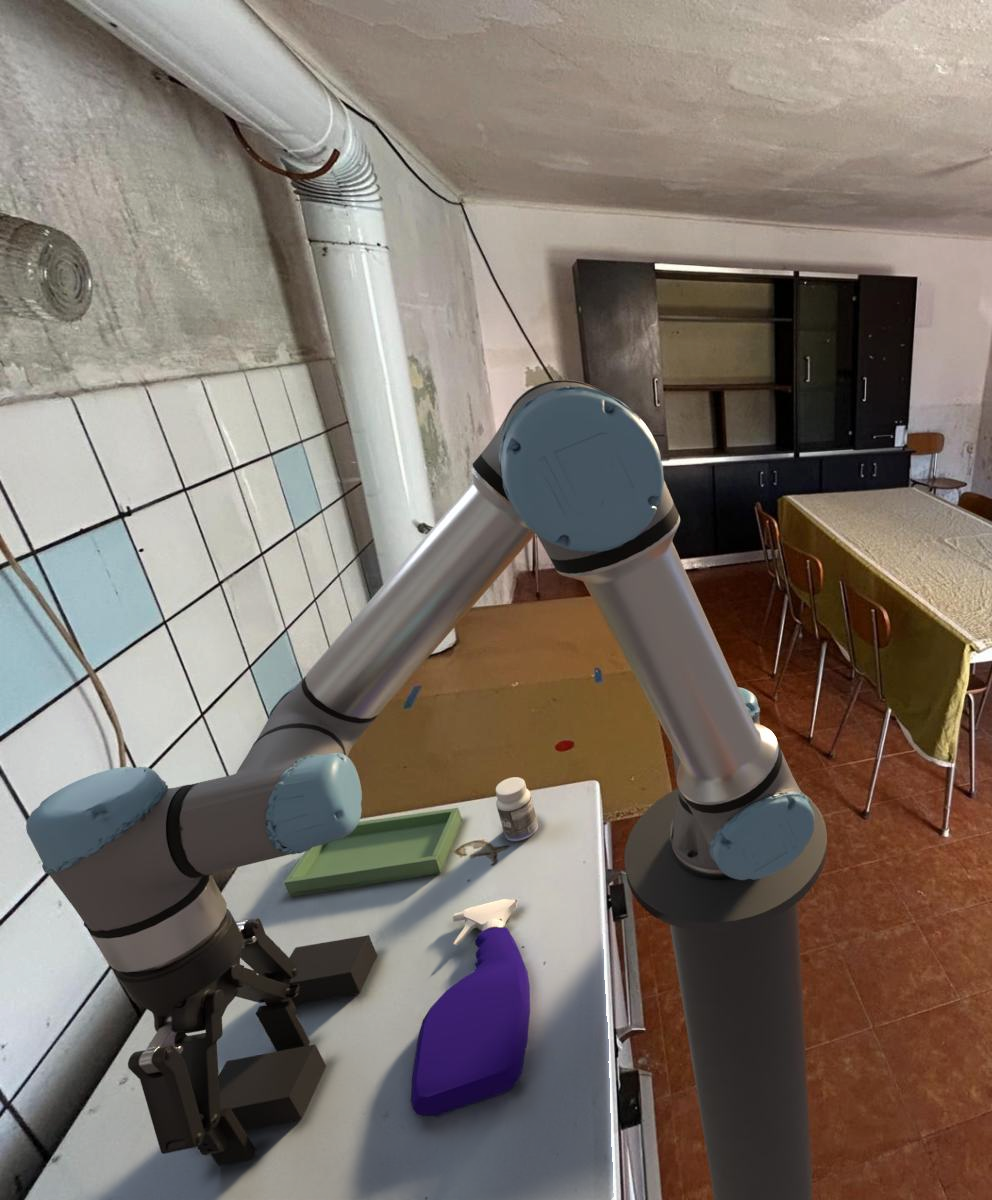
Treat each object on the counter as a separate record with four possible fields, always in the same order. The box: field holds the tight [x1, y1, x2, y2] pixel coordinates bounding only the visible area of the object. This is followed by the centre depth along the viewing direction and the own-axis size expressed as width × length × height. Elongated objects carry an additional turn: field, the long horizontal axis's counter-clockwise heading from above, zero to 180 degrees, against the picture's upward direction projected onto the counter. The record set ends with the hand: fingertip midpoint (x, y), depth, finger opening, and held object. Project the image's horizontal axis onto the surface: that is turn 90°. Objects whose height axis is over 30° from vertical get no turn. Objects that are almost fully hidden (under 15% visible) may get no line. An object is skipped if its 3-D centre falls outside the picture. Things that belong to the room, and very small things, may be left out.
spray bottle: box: [410, 898, 531, 1118], centre depth 73 cm, size 3×11×24 cm
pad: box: [218, 1043, 327, 1132], centre depth 64 cm, size 8×5×4 cm, turn 100°
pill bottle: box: [495, 776, 539, 842], centre depth 96 cm, size 5×5×8 cm
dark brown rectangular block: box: [288, 935, 378, 1006], centre depth 76 cm, size 8×5×4 cm, turn 100°
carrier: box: [283, 807, 463, 898], centre depth 94 cm, size 19×11×3 cm, turn 100°
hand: (268, 1099), depth 64 cm, fingers open, 9 cm apart
